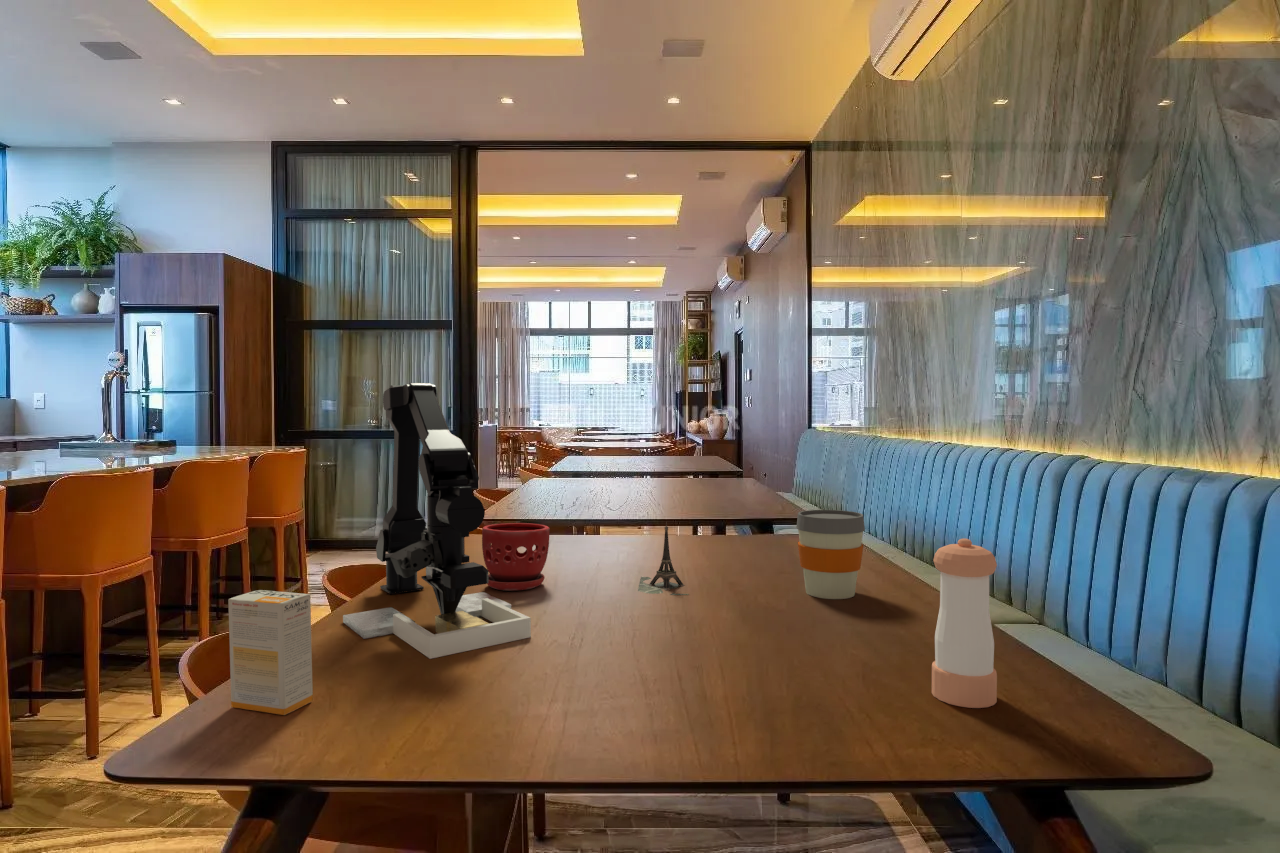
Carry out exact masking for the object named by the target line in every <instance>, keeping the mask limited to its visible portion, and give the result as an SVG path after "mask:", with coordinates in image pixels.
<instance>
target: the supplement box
mask: <svg viewBox="0 0 1280 853" xmlns="http://www.w3.org/2000/svg"><path fill="white" fill-rule="evenodd" d="M311 603H312V602H311V594H310V593H298V592H291V591H289V592H288V591H275V590H267V589H266V590H265V589H264V590H263V589H258V590H253V591H250V592H245V593H242V594H239V595H236V596H233V597H231V598H228V604H227V606H228V632H229V633H228V634H229V636H228V637H229V666H230V667H229V672H230V675H229V676H230V703H231V704H230V706H231V708H235V709H243V710H248V711H249V710H250V711H255V712H256V711H257V712H262V713H269V714H274V715H275V714H276V715H280V716H286V715H288V714H291V713H292V712H294V711H296V710H299V709H300V708H302V707H304V706H306V705H308V704H310V703H312V702H313V700H314V699H313V698H314V696H313V695H314V693H313V690H314V689H313V660H312V659H313V657H312V656H313V655H312V654H313V651H312V614H311V612H312V610H311V609H312V608H311Z"/></svg>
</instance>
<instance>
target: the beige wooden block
mask: <svg viewBox="0 0 1280 853" xmlns="http://www.w3.org/2000/svg"><path fill="white" fill-rule="evenodd" d="M485 624H489V622H487V621H485V620H483V618H481V617H471V618H465V619H460V620H455V621H449V622H448V627H449V631H455V630H460V629H465V628H470V627H475V626H480V625H485Z"/></svg>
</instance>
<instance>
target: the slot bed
mask: <svg viewBox="0 0 1280 853" xmlns="http://www.w3.org/2000/svg"><path fill="white" fill-rule="evenodd" d="M485 598H488V599H490V600H493V601H495V602H497V603H499V604H501V605H504V606H506V607H508V608H510V609H512V604H511V603H509V602H507V601H505V600H503V599H500V598H498V597H496V596H493V595H491V594H489V593H487V592H484V591H480V592H476V593H475V592H474V593H468V594H463V596H462V598H461V600H460V602H459V604H458V606H457V608H456V611H455V612H458V611H464V612H466V613H468V614H470V615H472V616H474V617H478V618H483V617H482V599H485ZM397 613H400V614H402V615H403V616H405V617H406V618H408V619H410V620H411V621H413V622H415V623H416V621H415V620H413V619H411V617H408V616H406V615H405V614H404V613H402V612H400V611H398V610H397V609H395V608H393V607H383V608H378V609H372V610H367V611H360V612H354V613H349V614H343V615H342V622H343V624H344V625H346V627H348V628H350V629H351V630H352V631H353V632H355V633H356V634H357V635H359V636H360V637H361V638H362V639H370V638H376V637H381V636H386V635H392V634H394V633H393V614H397Z"/></svg>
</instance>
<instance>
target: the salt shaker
mask: <svg viewBox="0 0 1280 853" xmlns="http://www.w3.org/2000/svg"><path fill="white" fill-rule="evenodd" d="M933 563H934V566H935V568H936V570H938V571H939V572H940V576H939V577H940V580H939V581H940V586H939V587H940V589H939V590H940V591H939V610H938V616H937V619H936V620H937V622H936V628H935V632H934V659H935V660H934V661H932V664H931V694H932V696H933V697H934V698H936V699H937V700H939V701H941V702H943V703H946V704H949V705H952V706H956V707H962V708H969V709H971V708H972V709H981V708H982V709H983V708H989V707H991V706H992V707H993V706H995V705H996V703H997V702H998V700H997V698H998V697H997V696H998V693H997V692H998V689H997V688H998V687H997V686H998V674H997V670H996V669H995V668H994V664H995V662H994V659H995V640H994V634H993V626H992V621H991V615H990V576H992V575H993V574H995V572H996V569H997V566H998V565H997V560H996V557H995V555H994V554H993V552H992V551H991V550H989V549H986V548H985V547H982V546H981V545H975V544H973V542H972V540H971V539H969V538H960V539H958V541H957V543H951V544H947V545H944V546H941V547H939V548H938V549H937V551H936V552H935V553H934V556H933Z"/></svg>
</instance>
